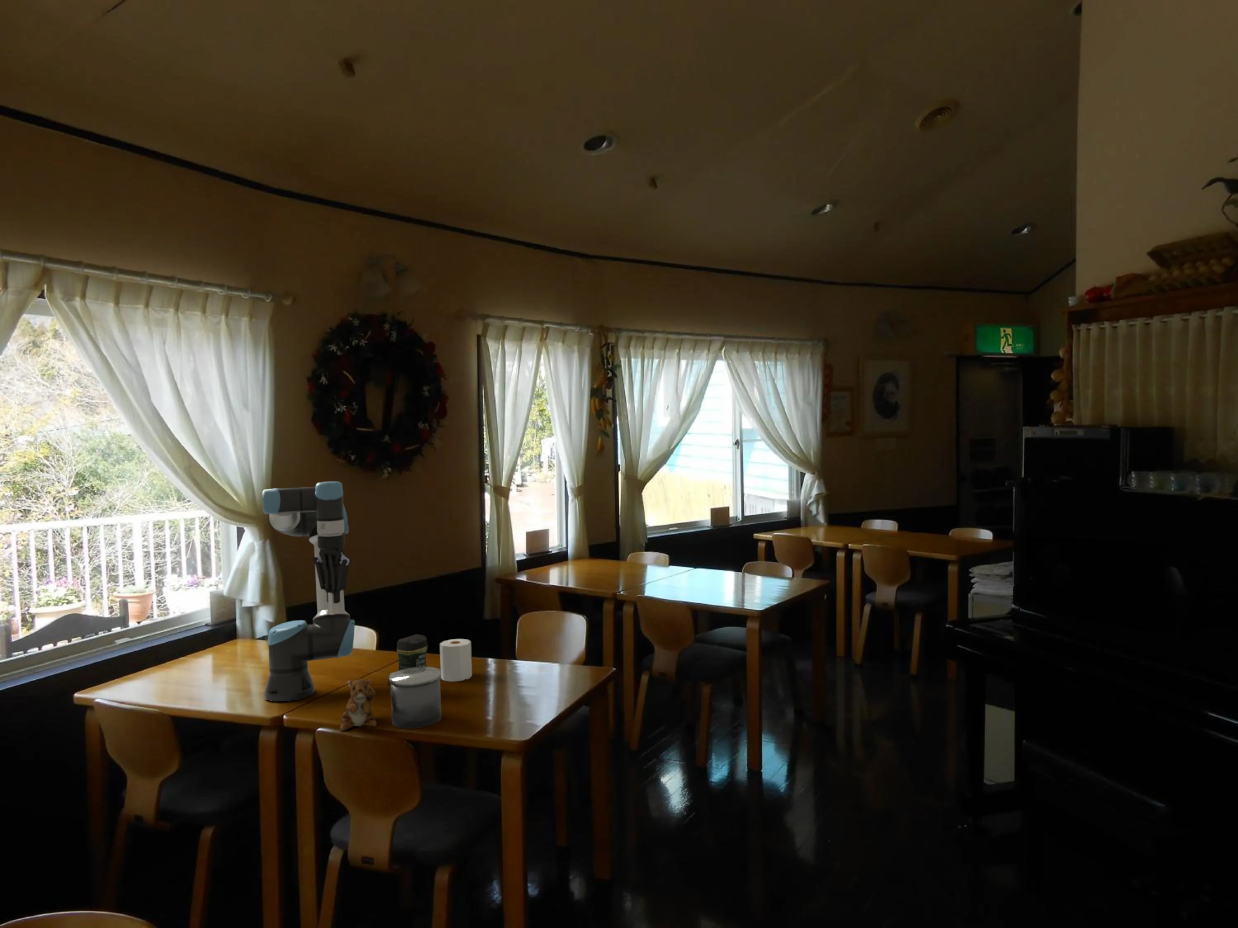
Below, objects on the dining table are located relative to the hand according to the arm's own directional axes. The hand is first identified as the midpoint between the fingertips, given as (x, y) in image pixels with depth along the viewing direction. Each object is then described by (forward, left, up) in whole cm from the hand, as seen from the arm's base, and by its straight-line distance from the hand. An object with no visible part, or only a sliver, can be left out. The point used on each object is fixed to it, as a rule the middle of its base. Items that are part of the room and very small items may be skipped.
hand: (334, 613), depth 240 cm
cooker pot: (+13, +21, -31) cm, 40 cm away
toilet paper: (-24, +40, -31) cm, 56 cm away
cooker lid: (+12, +21, -19) cm, 31 cm away
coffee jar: (-13, +24, -31) cm, 42 cm away
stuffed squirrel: (+7, +5, -31) cm, 33 cm away
